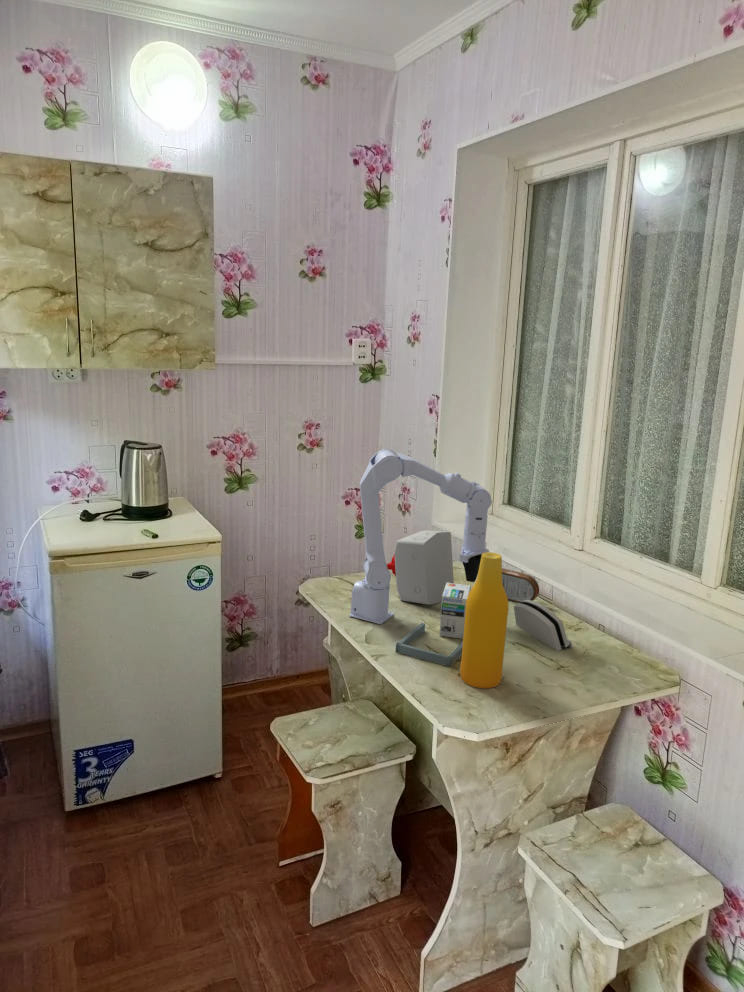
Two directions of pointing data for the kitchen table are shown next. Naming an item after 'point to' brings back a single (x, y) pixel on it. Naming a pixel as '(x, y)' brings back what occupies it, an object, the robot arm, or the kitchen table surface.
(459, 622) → the light bulb box
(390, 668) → the kitchen table surface
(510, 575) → the tin
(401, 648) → the bay
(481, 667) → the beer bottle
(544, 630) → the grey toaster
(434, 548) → the electrical switch box
